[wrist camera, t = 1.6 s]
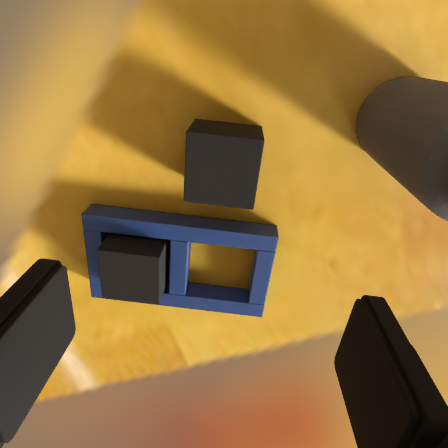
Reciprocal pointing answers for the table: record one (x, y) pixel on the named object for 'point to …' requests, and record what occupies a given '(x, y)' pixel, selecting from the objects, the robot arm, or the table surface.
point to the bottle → (410, 136)
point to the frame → (188, 254)
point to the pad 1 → (133, 268)
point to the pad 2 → (222, 163)
